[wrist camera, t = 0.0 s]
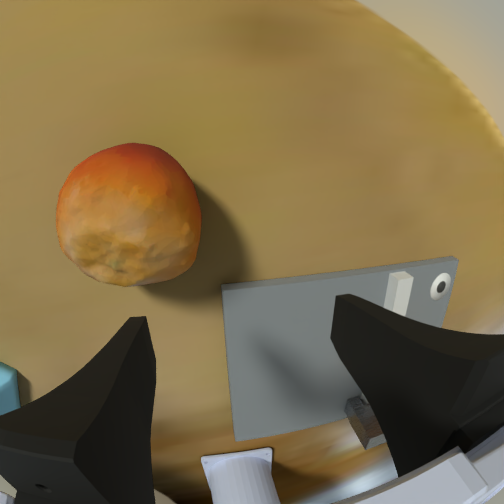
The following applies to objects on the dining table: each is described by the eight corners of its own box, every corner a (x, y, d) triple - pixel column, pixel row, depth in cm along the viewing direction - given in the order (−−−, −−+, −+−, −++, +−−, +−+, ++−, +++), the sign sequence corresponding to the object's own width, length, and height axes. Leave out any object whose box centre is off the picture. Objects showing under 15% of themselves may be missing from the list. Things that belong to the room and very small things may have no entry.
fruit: (228, 130, 17) (217, 229, 12) (194, 222, 22) (180, 321, 17) (97, 100, 15) (25, 183, 9) (91, 198, 20) (50, 289, 15)
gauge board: (412, 388, 31) (421, 399, 29) (234, 434, 28) (237, 451, 26) (452, 256, 25) (467, 264, 23) (220, 284, 22) (224, 300, 19)
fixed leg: (412, 388, 30) (438, 418, 25) (343, 411, 28) (365, 449, 23) (417, 375, 29) (444, 406, 24) (346, 399, 27) (370, 438, 22)
